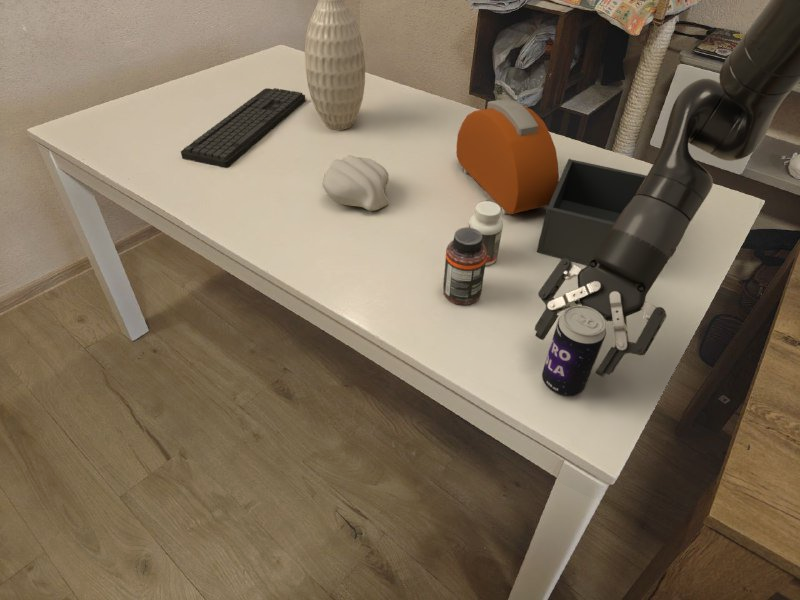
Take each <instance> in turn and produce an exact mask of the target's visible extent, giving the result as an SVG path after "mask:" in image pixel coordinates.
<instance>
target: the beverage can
mask: <svg viewBox="0 0 800 600" xmlns="http://www.w3.org/2000/svg"><path fill="white" fill-rule="evenodd" d="M606 325H607V321H606V320H605V319H604V317H603V316H602V315H601V314H600V313H599V312H598V311H596V310H595V309H593V308H590V307H587V306H582V305H578V306H572V307H570V308H568V309H566V310H564V312H563V314H561V315H559V317H558V318H557V323H556V326H555V328H554V333H553V337H552V339H551V342H550V346H549V349H548V352H547V356H546V358H545V362H544V365H543V369H542V373H541V378H542V382H543V383H544V385H545V386H546V387H547V388H548V389H549V390H550V391H551V392H553V393H554V394H557V395H559V396H565V397H574V396H577V395H579V394H582V393H583V391H584V390H585V389H586V386H587V384H588V381H589V380H590V376H591V374H592V371H593V369H594V367H595V364H596V362H597V360H598V356H599V354H600V351H601V349H602V346H603V344H604V341H605V338H606V337H607V328H606V327H607V326H606Z"/></svg>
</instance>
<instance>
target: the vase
mask: <svg viewBox="0 0 800 600" xmlns="http://www.w3.org/2000/svg"><path fill="white" fill-rule="evenodd" d="M358 26H359V25H358V23H357V22H356V19H355V17H354V15H353V14H352V12H351V10H350V8H349V6H348V5H347V3H346V2H345V0H317V3H316V5H315V7H314V10H313V12H312V14H311V17H310V19H309V21H308V25H307V29H306V34H305V41H304V63H305V64H304V65H305V75H306V82H307V87H308V90H309V95H310V98H311V100H312V103H313V106H314V108H315V110H316V112H317V114H318V116H319V118H320V119H321V121H322V122H323V124H325V127H327V129H330V130H335V131H343V130H347V129H350V128H351V127H352V125H354V122H355V120H356V119H357V117H358V115H359V112H360V109H361V107H362V102H363V99H364V94H365V85H366V59H365V49H364V44H363V39H362V36H361V35H362V34H361V32H360V29H359V27H358Z"/></svg>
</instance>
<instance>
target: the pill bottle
mask: <svg viewBox="0 0 800 600" xmlns="http://www.w3.org/2000/svg"><path fill="white" fill-rule="evenodd" d="M474 209H475V210H474V214H473V215H471V217H470V219H469V222H468V228H473V229H476V230H478V231H479V232H480V233H481V234H482V244H484V246H485V247H486V251H487V256H486V264H485V267H487V266H490V265H492V264H494V263H495V262H496V261H497V260H498V255H499V251H500V244H501V239H502V233H503V228H504V222H503V219H502V217H501V214H502V207H501V206H500V205H499V204H498V203H497V202H495V201H488V200H487V201H486V200H485V201H480V202H478V203H477V204H476V205H475V208H474Z"/></svg>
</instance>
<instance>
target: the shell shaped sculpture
mask: <svg viewBox="0 0 800 600" xmlns="http://www.w3.org/2000/svg"><path fill="white" fill-rule="evenodd" d="M388 183H389V173H388V171H387V169H386V168H385V167H384V166H383V165H381V164H380V163H378V162H377V161H376V160H373V159H372V158H369V157H359V156H354V155H350V154H349V155H347V156H345V157H343V158H341V159H335V160H333V161H332V162H331V164H330V166H329V167H328V168H327V169H326V171H325V173H324V176H323V182H322V188H323V189H324V191H325V193H326V194H327V196H328V197H329V198H331V200H332V201H334V202H335V203H338V204H341V205H345V206H351V207H360V208H363V209H365V210H367V211H370V212H371V211H372V212H373V211H379V210H380V209H382V208H385V207H387V206H388V205H389V204H390V203H389V200H388V199H387V197H386V195H385V189H386V187H387V185H388Z"/></svg>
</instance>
